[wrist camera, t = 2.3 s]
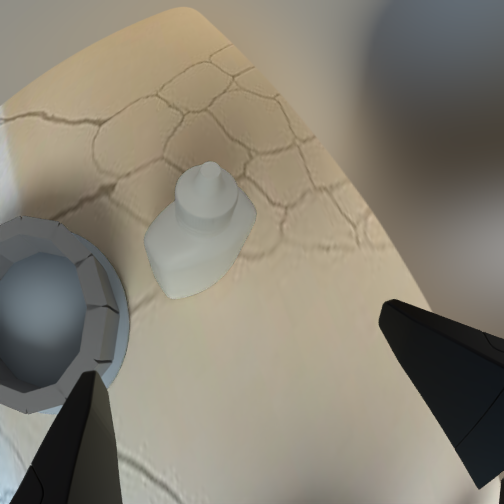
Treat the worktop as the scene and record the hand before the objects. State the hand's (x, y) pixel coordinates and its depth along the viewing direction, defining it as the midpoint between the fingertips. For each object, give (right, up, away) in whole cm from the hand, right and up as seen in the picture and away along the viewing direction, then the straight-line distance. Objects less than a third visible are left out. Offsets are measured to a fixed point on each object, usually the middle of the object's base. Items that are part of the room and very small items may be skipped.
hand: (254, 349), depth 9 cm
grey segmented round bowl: (-14, -2, +9) cm, 17 cm away
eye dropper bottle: (-4, +2, +13) cm, 14 cm away
